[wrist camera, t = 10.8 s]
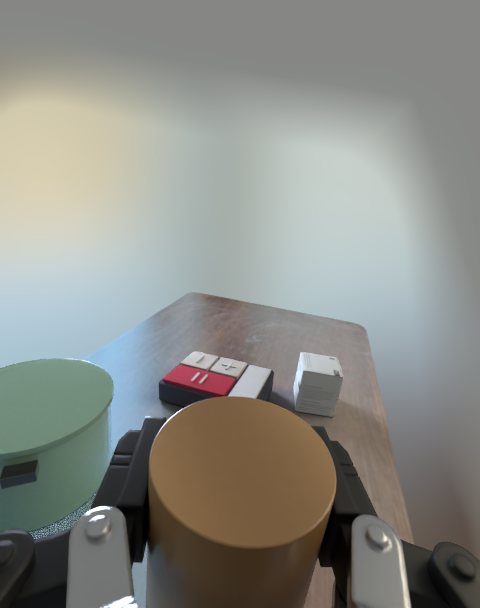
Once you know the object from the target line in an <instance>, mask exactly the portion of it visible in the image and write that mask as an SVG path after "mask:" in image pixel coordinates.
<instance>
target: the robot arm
mask: <svg viewBox="0 0 480 608" xmlns="http://www.w3.org/2000/svg"><path fill="white" fill-rule="evenodd" d="M166 422H167V419H166V417H158V416H146V418H145V420H144V423H143V426H142V429H141V430H129V431H128V432H127V433H126V434H125V435H124V436H123V437H122V438H121V439H120V440H119V442H118V444H117V447H116V449H115V452H114V455H113V456H112V459H111V461H110V465H109V466H108V468H107V471H106V473H105V475H104V478H103V480H102V483H101V485H100V487H99V490H98V492H97V495H96V497H95V499H94V502H93V504H92V506H91V508H90V510H89V511H88V512H87V513H85V514H84V515H83V516H82V517H80V518H79V520H78V521H77V522H76V523H75V525H74V526H72V527H71V528H69V529H67V530H65V531H62V532H59V533H56V534H52V535H49V536H45V537H42V538H38V539H35V540H34V539H33V537H32V535H31V534H30V533H29V532H28V531H26V530H23V529H10V530H6V531H3V532H0V608H137V603H136V600H135V597H134V589H133V580H132V571H131V569H132V565H133V562H142V561H143V556H144V552H145V547H146V543H147V530H148V482H149V457H150V451H151V447H152V444H153V442H154V440H155V437H156V435H157V434H158V432H159V431H160V429H161V427H162V426H163V425H164V424H165V423H166ZM309 426H311V425H309ZM311 427H312V428H313V429H314V431H315V432H316V433H317V434H318V435H319V436H320V438H321V439H322V440H323V442H324V443H325V445H326V447H327V448H328V450H329V452H330V454H331V457H332V459H333V463H334V466H335V470H336V479H337V483H336V493H335V498H334V502H333V505H332V509H331V512H330V516H329V519H328V523H327V526H326V530H325V533H324V537H323V540H322V544H321V547H320V551H319V554H318V558H319V562H320V566H321V567H332V569H333V572H334V576H335V580H334V584H333V591H332V608H480V561H479V560H478V559H477V558H476V557H475V556H474V555H473V554H472V553H470V552H469V551H468V550H466V549H464V548H463V547H461V546H459V545H457V544H454V543H451V542H440V543H438V544H437V545H436V546H435V547H434V550H433V551H429V550H427V549H424V548H421V547H419V546H416V545H413V544H410V543H408V542H405V541H403V540H401V539H400V538H399V536H398V535H397V533H396V532H395V530H394V529H393V528H392V527H391V526H390V525H389V524H387V523H386V522H385V521H383V520H382V519H380V518H378V516H377V514H376V512H375V510H374V507H373V505H372V503H371V501H370V499H369V497H368V495H367V493H366V490H365V488H364V486H363V484H362V482H361V480H360V478H359V477H358V473H357V471H356V469H355V467H353V463H352V461H351V458H350V456H349V454H348V452H347V451H346V450H345V449H344V448H343V447H342V446H341V445H340V444H339V442H338V441H330V440H329V437H328V435H327V432H326V430H325V428H324V427H323V426H311Z"/></svg>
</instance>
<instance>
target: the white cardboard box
mask: <svg viewBox="0 0 480 608" xmlns="http://www.w3.org/2000/svg"><path fill="white" fill-rule="evenodd" d="M343 378H344V377H343V374H342V370H341V366H340V364H339V362H338V359H337V358H336V357H329V356H323V355H317V354H311V353H305V352H301V353H300V359H299V363H298V368H297V373H296V378H295V383H294V388H293V389H294V398H295V411H298V412H304V413H310V414H317V415H323V416H329V417H334V413H335V409H336V405H337V401H338V397H339V393H340V390H341V386H342V382H343Z"/></svg>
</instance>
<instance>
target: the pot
mask: <svg viewBox="0 0 480 608" xmlns="http://www.w3.org/2000/svg"><path fill="white" fill-rule="evenodd" d="M113 395H114V385H113V381H112V379H111V377H110V375H109V374H108V373H107V372H106V371H105V370H104V369H102V368H101V367H99V366H97V365H95V364H93V363H90V362H86V361H82V360H76V359H65V358H51V359H40V360H32V361H27V362H22V363H17V364H13V365H9V366H6V367H3V368H0V532H3V531H6V530H10V529H23V530H26V531H28V532H30V531H34V530H37V529H40V528H43V527H45V526H48V525H50V524H52V523H55V522H57V521H59V520H60V519H62V518H64V517H66V516H68V515H69V514H71V513H72V512H74V511H75V510H77V509H78V508H79V507H81V506H82V505H83V504H84V503H86V502H87V501H88V500H89V499H90V498H91V497H92V496H93V495H94V494H95V493H96V491H97V490H98V489H99V487H100V485H101V483H102V480H103V478H104V475H105V473H106V471H107V468H108V466H109V465H110V461H111V459H112V435H111V409H110V404H111V402H112V399H113Z"/></svg>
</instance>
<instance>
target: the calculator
mask: <svg viewBox="0 0 480 608" xmlns="http://www.w3.org/2000/svg"><path fill="white" fill-rule="evenodd" d="M273 375H274V372H273V371H271V370H270V369H266V368H261V367H257V366H253V365H247V363H244V362H240V361H236V360H231V359H227V358H218V356H214V355H210V354H205V353H201V352H197V351H194V352H192V353H191V354H190V355H189V356H188V357H187V358H186V359H184V360H183V361H182V362H181V363H180V364H179V365H178V366H176V367H175V368H174V369H173V370H172V371H171V372H170V373H168V374H167V375H166V376H165V377H164V378H163V379H162V380H161V381H160V382H159V399H160V400H163V401H166V402H170V403H173V404H176V405H180V406H183V407H187V406H189V405H191V404H194V403H196V402H199V401H202V400H205V399H210V398H215V397H224V396H239V397H249V398H255V399H259V400H263V401H267V399H268V397H269V395H270V393H271V391H272V385H273Z"/></svg>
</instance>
